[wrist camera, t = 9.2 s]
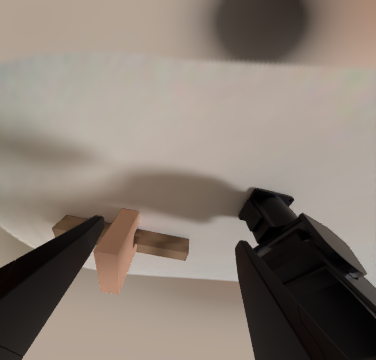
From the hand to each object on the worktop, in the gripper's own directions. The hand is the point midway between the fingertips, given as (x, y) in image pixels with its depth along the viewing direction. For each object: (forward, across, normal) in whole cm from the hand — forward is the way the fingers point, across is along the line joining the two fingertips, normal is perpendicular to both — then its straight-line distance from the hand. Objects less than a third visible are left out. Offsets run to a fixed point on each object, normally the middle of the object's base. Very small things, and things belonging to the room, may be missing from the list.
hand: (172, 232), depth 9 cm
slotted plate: (+12, +8, +17) cm, 22 cm away
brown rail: (+12, +8, +17) cm, 22 cm away
